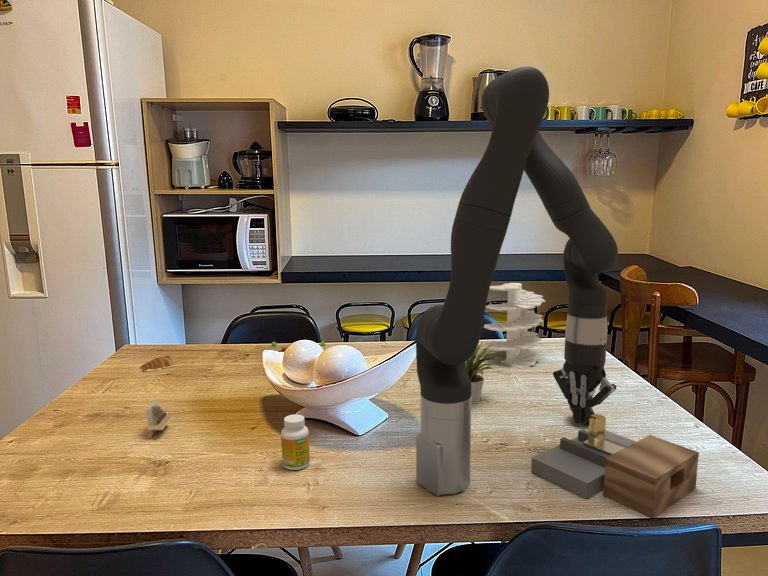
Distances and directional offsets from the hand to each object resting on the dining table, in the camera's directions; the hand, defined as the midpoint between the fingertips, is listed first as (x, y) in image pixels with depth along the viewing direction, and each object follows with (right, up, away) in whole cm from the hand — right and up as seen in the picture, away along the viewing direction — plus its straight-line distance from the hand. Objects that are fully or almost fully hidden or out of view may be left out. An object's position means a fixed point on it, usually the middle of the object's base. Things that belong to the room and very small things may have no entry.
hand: (581, 422), depth 110 cm
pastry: (-111, 0, +61) cm, 126 cm away
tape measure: (+7, -5, +20) cm, 22 cm away
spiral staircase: (+1, +3, +64) cm, 64 cm away
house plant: (-18, -3, +32) cm, 37 cm away
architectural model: (-90, -7, +16) cm, 91 cm away
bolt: (+5, -6, -5) cm, 9 cm away
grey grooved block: (+2, -8, -1) cm, 9 cm away
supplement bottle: (-56, -9, +2) cm, 57 cm away
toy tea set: (-63, +2, +63) cm, 89 cm away
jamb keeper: (+9, -10, -10) cm, 17 cm away
